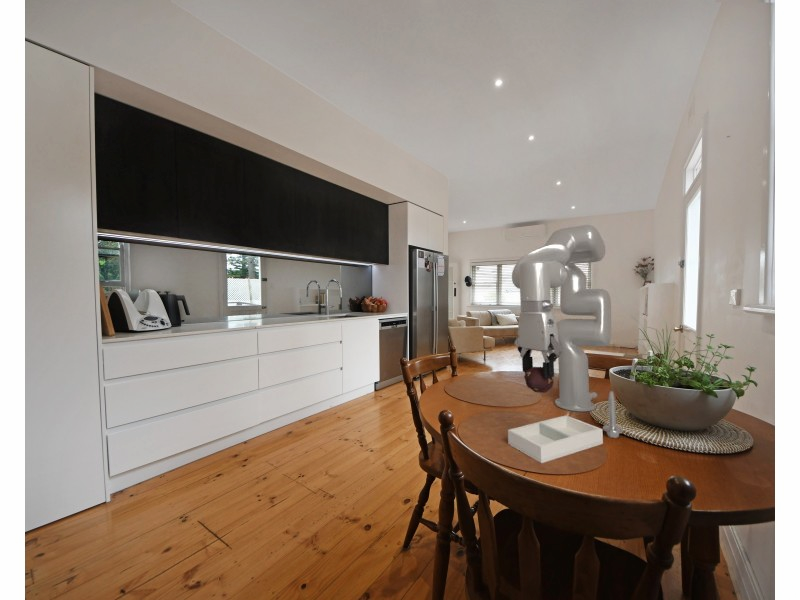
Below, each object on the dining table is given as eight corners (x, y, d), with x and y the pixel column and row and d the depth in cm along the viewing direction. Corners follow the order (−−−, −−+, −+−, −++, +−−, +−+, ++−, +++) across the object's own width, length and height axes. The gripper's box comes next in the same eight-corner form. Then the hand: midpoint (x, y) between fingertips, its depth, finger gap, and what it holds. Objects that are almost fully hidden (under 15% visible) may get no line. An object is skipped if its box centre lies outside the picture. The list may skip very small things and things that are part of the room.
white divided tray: (566, 428, 99) (565, 415, 99) (602, 443, 88) (602, 429, 88) (508, 444, 90) (507, 429, 90) (541, 463, 79) (540, 447, 79)
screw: (615, 432, 95) (627, 439, 90) (599, 432, 95) (610, 440, 90) (614, 388, 95) (625, 392, 90) (597, 388, 95) (608, 393, 90)
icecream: (551, 375, 78) (561, 368, 90) (520, 365, 82) (534, 360, 95) (544, 402, 79) (555, 392, 91) (514, 391, 83) (528, 382, 95)
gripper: (574, 307, 80) (576, 379, 80) (522, 306, 96) (524, 366, 96) (551, 309, 77) (554, 383, 77) (502, 307, 93) (504, 369, 93)
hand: (537, 373), depth 87 cm, fingers closed on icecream, 6 cm apart
